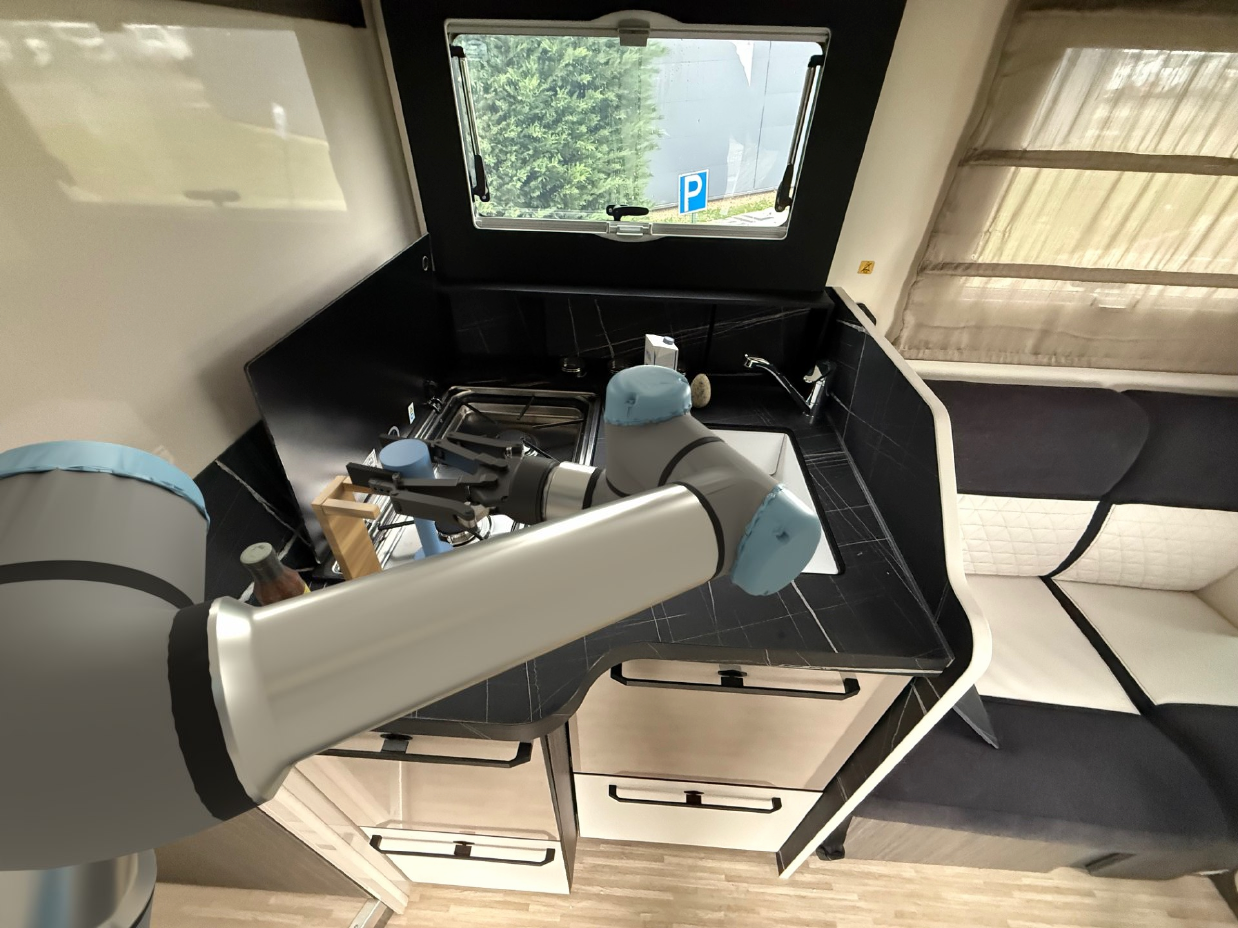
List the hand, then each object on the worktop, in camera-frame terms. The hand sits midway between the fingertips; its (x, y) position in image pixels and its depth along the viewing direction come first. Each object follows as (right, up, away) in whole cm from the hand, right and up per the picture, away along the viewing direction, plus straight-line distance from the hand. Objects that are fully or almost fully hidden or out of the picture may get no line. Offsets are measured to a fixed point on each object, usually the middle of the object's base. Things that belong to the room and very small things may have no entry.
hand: (368, 458), depth 61 cm
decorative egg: (+51, +15, +85) cm, 100 cm away
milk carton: (+40, +16, +85) cm, 95 cm away
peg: (+5, -14, +9) cm, 17 cm away
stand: (-6, -28, +25) cm, 38 cm away
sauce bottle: (-22, -29, +25) cm, 44 cm away
